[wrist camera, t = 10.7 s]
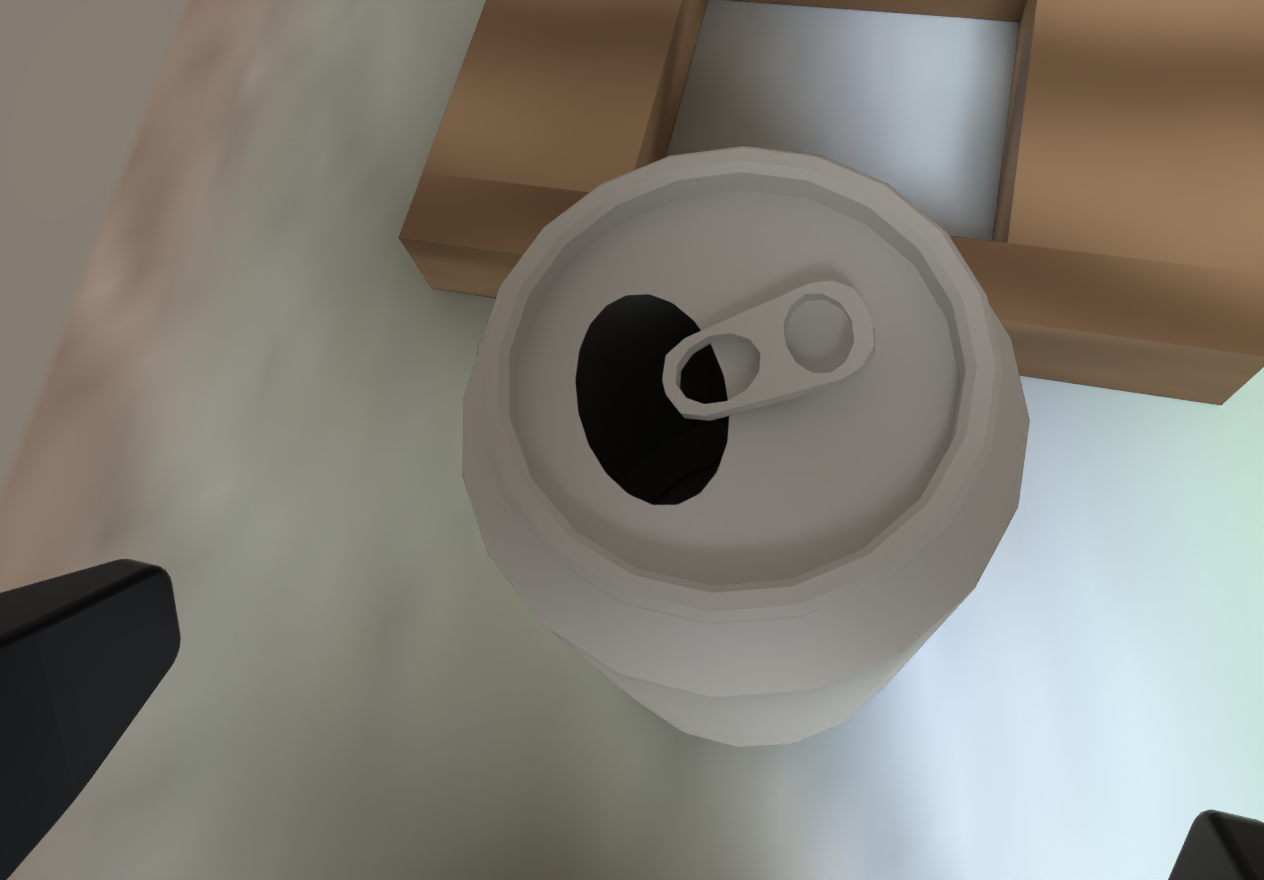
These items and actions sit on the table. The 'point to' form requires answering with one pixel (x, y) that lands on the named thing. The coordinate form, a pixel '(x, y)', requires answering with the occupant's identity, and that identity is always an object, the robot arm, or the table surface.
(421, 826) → the table surface
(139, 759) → the table surface
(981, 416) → the can
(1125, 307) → the pocket board
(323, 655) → the table surface
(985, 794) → the table surface
